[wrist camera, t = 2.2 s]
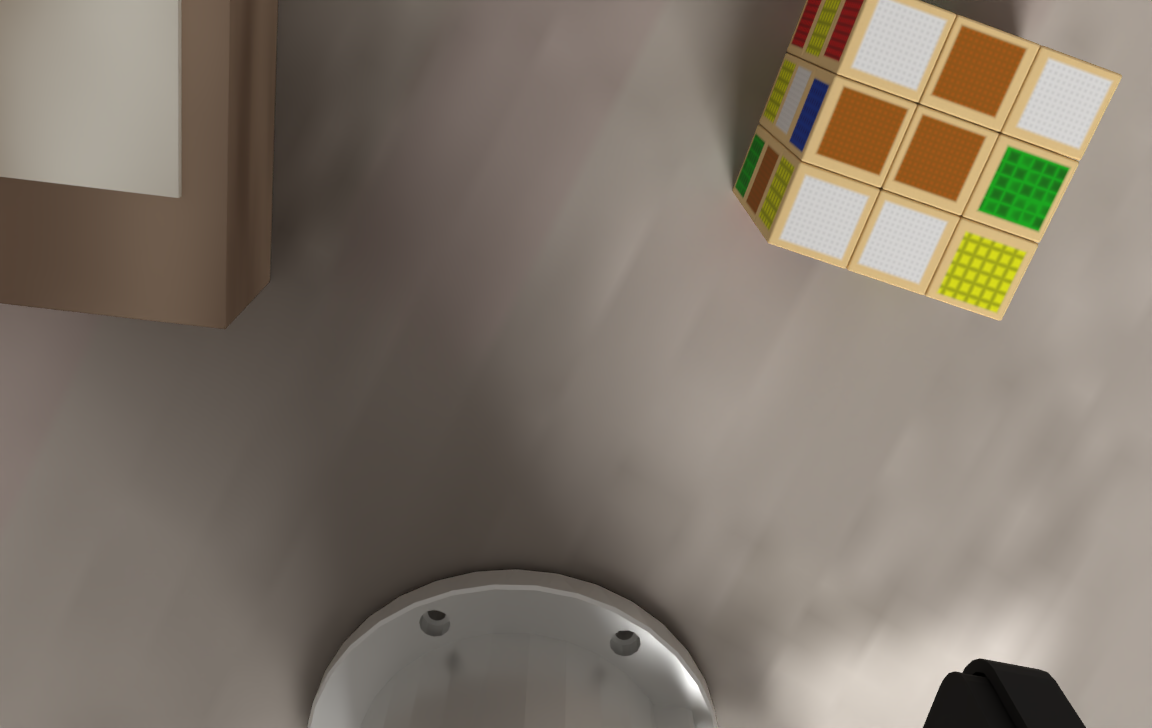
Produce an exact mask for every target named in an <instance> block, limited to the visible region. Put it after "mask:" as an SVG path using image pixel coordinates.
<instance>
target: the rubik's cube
mask: <svg viewBox="0 0 1152 728" xmlns="http://www.w3.org/2000/svg"><path fill="white" fill-rule="evenodd" d="M787 52H788V53H786V54H785V57H784V59H783V62H782V64H781V67H780V69H779V72H778V75H777V77H776V80H775V82H774V85H773V87H772V90H771V93H770V95H769V98H768V100H767V103H766V105H765V108H764V110H763V113H762V116H761V118H760V121H759V123H760V124H761V125H758V126H757V128H756V131H755V134H754V136H753V139H752V141H751V144H750V146H749V149H748V152H747V154H746V157H745V159H744V162H743V164H742V167H741V169H740V172H739V175H738V177H737V180H736V182H735V185H734V187H733V190H732V191H733V193H734V194H735V195H736V197H737V198H738V200H739V201H740V203H741V204H742V206H743V207H744V209H745V210H746V211H747V213H748V214H749V216H750V217H751V219H752V220H753V222H754V223H755V225H756V226H757V227H758V229H759V230H760V232H761V233H762V235H763V236H764V238H765V239H766V241H767V242H768V243H769V244H772V245H775V246H778V247H781V248H784V249H787V250H790V251H793V252H796V253H799V254H802V255H805V256H808V257H811V258H814V259H817V260H820V261H823V262H826V263H829V264H832V265H835V266H838V267H841V268H847V269H848V270H850V271H853V272H856V273H859V274H862V275H865V276H868V277H871V278H874V279H877V280H880V281H883V282H886V283H889V284H891V285H894V286H897V287H900V288H903V289H906V290H909V291H912V292H915V293H918V294H921V295H926V296H927V297H930V298H933V299H936V300H939V301H942V302H945V303H948V304H951V305H954V306H957V307H960V308H963V309H966V310H969V311H972V312H975V313H978V314H981V315H984V316H987V317H990V318H993V319H996V320H999V321H1000V320H1002V318H1003V316H1004V314H1005V312H1006V310H1007V308H1008V306H1009V304H1010V302H1011V300H1012V297H1013V295H1014V293H1015V291H1016V289H1017V287H1018V285H1019V283H1020V281H1021V279H1022V277H1023V275H1024V273H1025V271H1026V269H1027V267H1028V265H1029V263H1030V261H1031V259H1032V257H1033V255H1034V253H1035V251H1036V249H1037V247H1038V244H1037V243H1036V242H1038V243H1039V242H1040V241H1041V239H1042V237H1043V235H1044V233H1045V231H1046V229H1047V227H1048V225H1049V223H1050V221H1051V219H1052V217H1053V215H1054V213H1055V211H1056V209H1057V207H1058V205H1059V203H1060V201H1061V199H1062V197H1063V195H1064V193H1065V191H1066V189H1067V187H1068V185H1069V183H1070V181H1071V179H1072V177H1073V175H1074V173H1075V171H1076V168H1077V166H1078V164H1079V162H1078V161H1076V160H1081V158H1082V156H1083V154H1084V152H1085V150H1086V148H1087V146H1088V144H1089V142H1090V140H1091V138H1092V136H1093V134H1094V132H1095V130H1096V128H1097V126H1098V124H1099V122H1100V120H1101V118H1102V116H1103V114H1104V112H1105V110H1106V108H1107V106H1108V104H1109V102H1110V100H1111V98H1112V96H1113V94H1114V92H1115V90H1116V88H1117V86H1118V84H1119V82H1120V80H1121V78H1122V75H1120V74H1118V73H1115V72H1113V71H1110V70H1107V69H1105V68H1102V67H1099V66H1096V65H1094V64H1091V63H1088V62H1086V61H1083V60H1080V59H1077V58H1075V57H1072V56H1069V55H1067V54H1064V53H1061V52H1059V51H1056V50H1053V49H1050V48H1048V47H1045V46H1041V45H1039V44H1037V43H1034V42H1031V41H1029V40H1026V39H1023V38H1021V37H1018V36H1015V35H1013V34H1010V33H1007V32H1004V31H1002V30H999V29H996V28H994V27H991V26H988V25H985V24H983V23H980V22H977V21H975V20H972V19H969V18H967V17H964V16H961V15H956V14H955V13H953V12H950V11H948V10H945V9H942V8H939V7H937V6H934V5H931V4H929V3H926V2H923V1H920V0H806V3H805V5H804V8H803V10H802V13H801V16H800V18H799V21H798V23H797V26H796V28H795V31H794V34H793V36H792V39H791V41H790V44H789V46H788V49H787ZM789 53H791V54H789ZM792 54H793V55H792ZM794 55H795V56H794ZM1061 154H1062V155H1061ZM1064 155H1065V156H1064ZM1066 156H1068V157H1066ZM1069 157H1070V158H1069ZM1071 158H1073V159H1071ZM1074 159H1076V160H1074ZM1034 241H1035V242H1034Z"/></svg>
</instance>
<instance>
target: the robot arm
mask: <svg viewBox="0 0 1152 728" xmlns="http://www.w3.org/2000/svg"><path fill="white" fill-rule="evenodd" d="M433 610H437V611H440V612H436V611H433ZM623 630H628V631H623ZM307 728H718V725H717V719H716V713H715V709H714V706H713V703H712V700H711V697H710V694H709V691H708V688H707V684H706V681H705V679H704V677H703V676H702V674H701V672H700V671H699V669H698V667H697V666H696V664H695V662H694V661H693V659H692V657H691V656H690V654H689V652H688V651H687V649H686V648H685V647H684V646H683V645H682V644H681V643H680V642H679V641H678V640H677V639H676V638H675V636H674V635H673V634H672V633H671V632H670V631H669V630H668V629H667V628H666V627H665V626H664V625H663V624H662V623H661V622H659V621H658V620H657V619H655V618H654V617H653V616H651V615H650V614H649V613H647V612H646V611H644V610H643V609H642V608H640V607H639V606H638V605H636V604H635V603H633V602H632V601H630V600H628V599H626V598H624V597H621V596H619V595H617V594H615V593H613V592H611V591H609V590H607V589H605V588H603V587H601V586H598V585H596V584H593V583H589V582H585V581H582V580H578V579H575V578H571V577H568V576H564V575H561V574H556V573H547V572H537V571H528V570H518V569H513V570H497V571H480V572H472V573H468V574H464V575H459V576H455V577H451V578H447V579H442V580H438V581H435V582H432V583H430V584H428V585H425V586H423V587H421V588H418V589H416V590H414V591H411V592H409V593H407V594H404V595H402V596H400V597H398V598H397V599H395V600H394V601H392V602H391V603H389V604H388V605H386V606H385V607H383V608H382V609H380V610H379V611H377V612H376V613H374V614H373V615H371V616H370V617H368V618H367V619H366V620H365V621H364V622H363V623H362V625H361V626H360V627H359V628H358V629H357V630H356V631H355V632H354V633H353V634H352V635H351V636H350V637H349V638H348V639H347V640H346V641H345V642H344V643H343V644H342V646H341V647H340V649H339V650H338V652H337V654H336V655H335V657H334V658H333V660H332V661H331V663H330V664H329V666H328V668H327V669H326V671H325V673H324V676H323V678H322V681H321V684H320V686H319V689H318V691H317V694H316V696H315V699H314V702H313V704H312V709H311V713H310V717H309V722H308V726H307ZM923 728H1086V727H1085V726H1084V724H1083V722H1082V721H1081V719H1080V718H1079V716H1078V715H1077V713H1076V712H1075V710H1074V709H1073V707H1072V706H1071V704H1070V703H1069V701H1068V699H1067V698H1066V696H1065V695H1064V693H1063V692H1062V690H1061V689H1060V687H1059V686H1058V684H1057V683H1056V681H1055V680H1054V679H1053V678H1052V677H1051V675H1050V674H1049V673H1048V672H1045V671H1042V670H1039V669H1034V668H1029V667H1023V666H1018V665H1012V664H1007V663H1002V662H996V661H991V660H985V659H976V660H973V661H972V662H971V663H969V664H968V665H967V666H966V667H965V669H964V671H963V673H960V672H952V673H949V674H948V675H947V676H946V677H945V678H944V680H943V681H942V683H941V685H940V687H939V690H938V692H937V695H936V697H935V700H934V702H933V704H932V707H931V709H930V712H929V714H928V717H927V719H926V722H925V724H924V727H923Z"/></svg>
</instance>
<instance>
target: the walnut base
mask: <svg viewBox="0 0 1152 728" xmlns="http://www.w3.org/2000/svg"><path fill="white" fill-rule="evenodd" d="M277 19H278V0H0V303H2V304H11V305H20V306H28V307H37V308H46V309H54V310H63V311H72V312H80V313H89V314H98V315H106V316H115V317H124V318H132V319H141V320H150V321H158V322H167V323H176V324H184V325H193V326H202V327H210V328H219V329H226V328H227V327H228V326H229V325H230V324H231V323H232V321H233V320H234V319H235V318H236V317H237V316H238V315H239V314H240V313H241V312H242V311H243V310H244V309H245V308H246V306H247V305H248V304H249V303H250V302H251V301H252V300H253V299H254V298H255V297H256V296H257V295H258V294H259V293H260V291H261V290H262V289H263V288H264V287H265V286H266V285H267V284H268V283H269V282H270V264H271V229H272V194H273V159H274V124H275V89H276V54H277Z"/></svg>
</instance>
